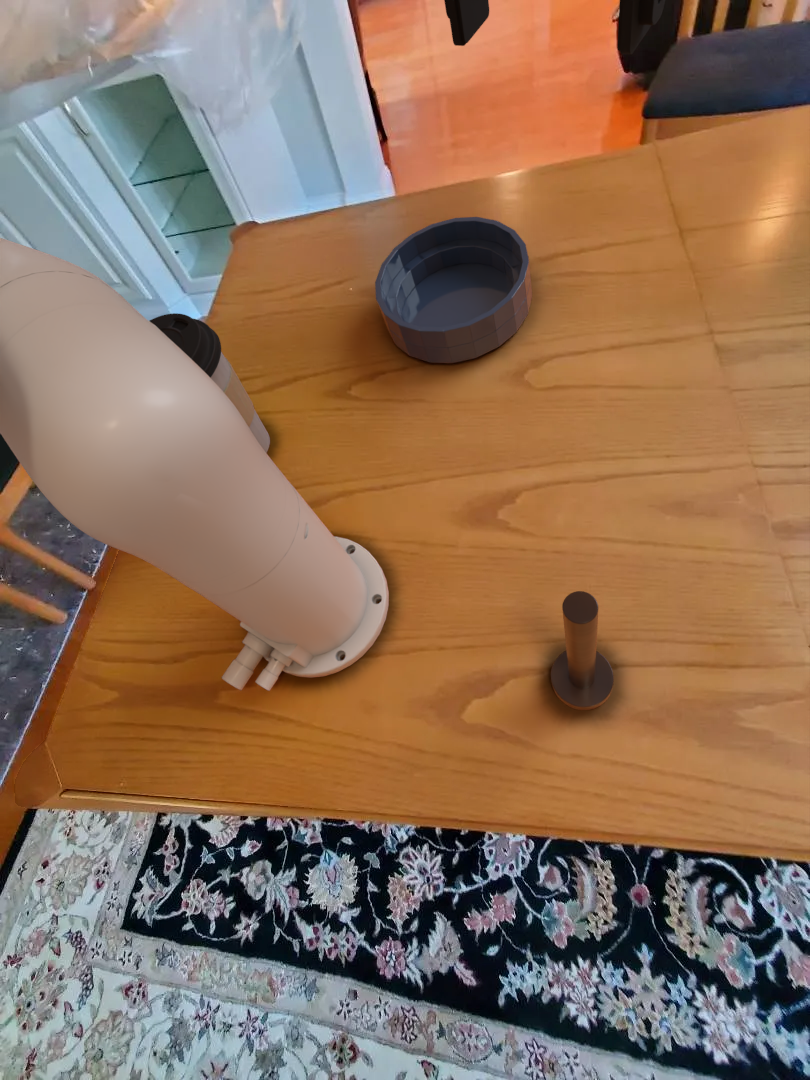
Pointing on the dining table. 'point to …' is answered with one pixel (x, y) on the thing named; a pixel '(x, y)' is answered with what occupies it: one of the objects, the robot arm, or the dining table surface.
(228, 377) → the coffee cup
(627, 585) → the dining table surface
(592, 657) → the muddler
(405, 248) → the bowl
